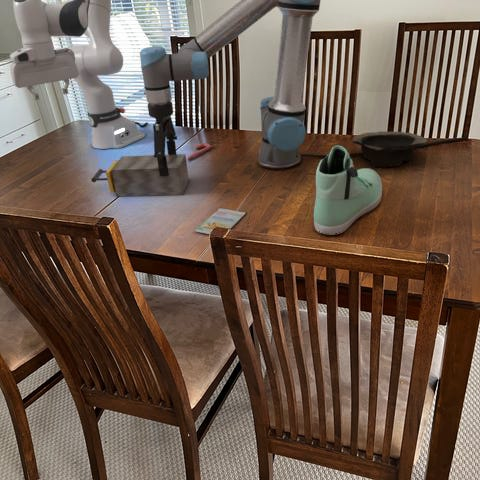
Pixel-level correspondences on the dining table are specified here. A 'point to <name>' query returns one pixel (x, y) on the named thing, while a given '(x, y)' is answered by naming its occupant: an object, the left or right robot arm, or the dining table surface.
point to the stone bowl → (388, 147)
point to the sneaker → (343, 192)
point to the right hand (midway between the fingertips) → (168, 167)
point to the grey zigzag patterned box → (149, 176)
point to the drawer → (109, 177)
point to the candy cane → (200, 150)
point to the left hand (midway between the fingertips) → (51, 96)
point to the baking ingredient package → (220, 220)
